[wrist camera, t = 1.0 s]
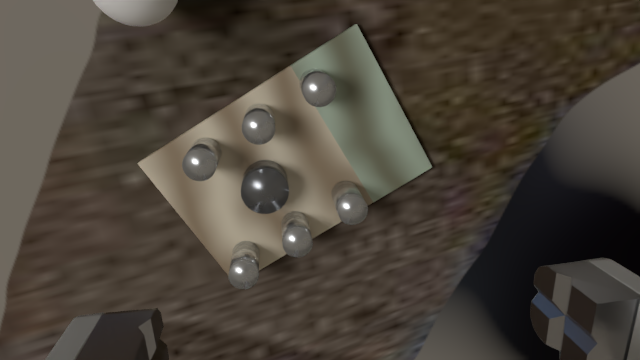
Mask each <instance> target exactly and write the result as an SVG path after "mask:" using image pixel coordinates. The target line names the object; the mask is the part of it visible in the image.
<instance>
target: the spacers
mask: <svg viewBox="0 0 640 360" xmlns="http://www.w3.org/2000/svg"><path fill="white" fill-rule="evenodd" d="M299 87H300V90H301V92H302V94H303V96H304V98H305V100H306V101H307V102H308V103H309V104H310V105H312V106H315V107H324V106H327V105H328V104H330V103H331V102H332V101H333V99H334V98H335V95H336V85H335V82H334V80H333V79H332V78H331V77H330V76H329V75H327V74H326V73H325V72H323V71H322V70H320V69H309V70H307V71H305V72H304V73H303V74H302V76H301V78H300V81H299ZM242 133H243V135H244V137H245V138H246V140H247V141H249V142H250V143H252V144H256V145H262V144H265V143H267V142H269V141H270V140H271V139H272V138H273V136H274V134H275V116H274V113H273V111H272V109H271V108H270V107H269V106H267V105H265V104H261V103H257V104H254V105H252V106H250V107H249V108H248V109H247V111H246V113H245V116H244V119H243V123H242ZM221 154H222V151H221V147H220V145H219V144H218V142H216V141H215V140H214V139H212V138H208V137H204V138H200V139H198V140H196V141H195V142H194V144H193V145H192V146H191V148H190V149H189V151H188V152H187V154H186V155H185V157H184V158H183V161H182V168H183V171H184V173H185V174H186V175H187V176H188V177H189V178H190V179H192V180H195V181H205V180H208V179H209V178H211V177H212V176H213V175H214V173H215V170H216V168H217V165H218V163H219V160H220V158H221ZM331 196H332V200H333V202H334V205H335V208H336V210H337V213H338V215H339V218H340V219H341V221H343V222H344V223H346V224H349V225H355V224H358V223H360V222H362V221H363V220H364V219H365V218H366V216H367V213H368V206H367V204H366V202H365V200H364V198H363V197H362V195H361V193H360V191H359V190H358V188H357V186H356V185H355V184H354V183H353V182H351V181H340V182H338V183H337V184H336V185H335V186H334V187H333V189H332V192H331ZM281 228H282V244H283V249H284V251H285V252H286V253H287V254H288V255H290V256H292V257H302V256H304V255H306V254H308V253H309V252H310V250H311V248H312V245H313V242H312V236H311V232H310V227H309V222H308V218H307V217H306V215H305V214H303V213H302V212H299V211H292V212H289V213H287V214H286V215H285V216H284V217H283V219H282V222H281ZM259 256H260V251H259V248H258V246H257V245H256V244H255V243H253V242H251V241H242V242H239V243H237V244H236V245H235V246H234V248H233V251H232V257H231V263H230V269H229V275H228V278H229V281H230V283H231V284H232V285H233V286H234V287H236V288H239V289H247V288H250V287H252V286H254V285H255V284H256V282H257V281H258V277H259Z"/></svg>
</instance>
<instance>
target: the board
mask: <svg viewBox="0 0 640 360" xmlns="http://www.w3.org/2000/svg"><path fill="white" fill-rule="evenodd" d="M309 69H320V70H322V71H323V72H325V73H326V74H327V75H329V76H330V77H331V78H332V79H333V80H334V82H335V85H336V95H335V98H334V99H333V101H332V102H331V103H330V104H328V105H327V106H324V107H315V106H312V105H310V104H309V103H308V102H307V101H306V100H305V98H304V96H303V94H302V92H301V90H300V87H299V81H300V78H301V76H302V74H303V73H304V72H305V71H307V70H309ZM257 103H261V104H265V105H267V106H269V107H270V108H271V109H272V111H273V113H274V116H275V134H274V136H273V138H272V139H271V140H270V141H269V142H267V143H265V144H262V145H256V144H252V143H250V142H249V141H247V140H246V138H245V137H244V135H243V133H242V123H243V119H244V116H245V113H246V111H247V109H248V108H249V107H250V106H252V105H254V104H257ZM204 137H208V138H212V139H214V140H215V141H216V142H218V144H219V145H220V147H221V151H222V154H221V158H220V160H219V163H218V165H217V168H216V170H215V173H214V175H213V176H212V177H211V178H209V179H208V180H205V181H195V180H192V179H190V178H189V177H188V176H187V175H186V174H185V173H184V171H183V168H182V161H183V158H184V157H185V155H186V154H187V152H188V151H189V149H190V148H191V146H192V145H193V144H194V142H195V141H196V140H198V139H200V138H204ZM260 160H271V161H274V162H276V163H278V164H279V165H280V166H281V167H282V168H283V169H284V170H285V172H286V174H287V179H288V187H289V196H288V199H287V201H286V203H285V205H284V206H283V207H282V208H281V209H279V210H278V211H276V212H273V213H270V214H260V213H256V212H254V211H252V210H250V209H249V208H248V207H247V206H246V205H245V204H244V202H243V200H242V197H241V185H242V180H243V175H244V173H245V171H246V169H247V168H248V167H249V166H250V165H251V164H252V163H254V162H256V161H260ZM137 164H138V165H139V166H140V167H141V169H142V170H143V171H144V172H145V173H146V175H147V176H148V177H149V178H150V180H151V181H152V182H153V183H154V185H155V186H156V187H157V188H158V189H159V191H160V192H161V193H162V194H163V196H164V197H165V198H166V199H167V200H168V202H169V203H170V204H171V205H172V207H173V208H174V209H175V210H176V212H177V213H178V214H179V215H180V216H181V218H182V219H183V220H184V221H185V223H186V224H187V225H188V226H189V228H190V229H191V230H192V231H193V232H194V234H195V235H196V236H197V237H198V239H199V240H200V241H201V242H202V243H203V245H204V246H205V247H206V248H207V250H208V251H209V252H210V253H211V255H212V256H213V257H214V258H215V259H216V261H217V262H218V263H219V264H220V266H221V267H222V268H223V269H224V271H225V272H226V273H227V274H228V275H229V269H230V263H231V257H232V251H233V248H234V246H235V245H236V244H237V243H239V242H242V241H251V242H253V243H255V244H256V245H257V246H258V248H259V251H260V256H259V270H261V269H262V268H264V267H266V266H267V265H269V264H271V263H273V262H274V261H276V260H278V259H279V258H281V257H283V256H284V255H286V254H287V253H286V252H285V251H284V249H283V244H282V228H281V222H282V219H283V217H284V216H285V215H286V214H287V213H289V212H292V211H299V212H302V213H303V214H305V215H306V217H307V218H308V222H309V227H310V232H311V236H312V239H313V238H314V237H316V236H318V235H320V234H321V233H323V232H325V231H326V230H328V229H330V228H331V227H333V226H335V225H336V224H338V223H340V222H341V219H340V218H339V215H338V213H337V210H336V208H335V205H334V202H333V200H332V196H331V192H332V189H333V187H334V186H335V185H336V184H337V183H338V182H340V181H351V182H353V183H354V184H355V185H356V186H357V188H358V190H359V191H360V193H361V195H362V197H363V198H364V200H365V202H366V204H367V206H368V205H370V204H372V203H373V202H375V201H377V200H378V199H380V198H382V197H383V196H385V195H387V194H388V193H390V192H392V191H393V190H395V189H397V188H398V187H400V186H402V185H403V184H405V183H407V182H409V181H410V180H412V179H414V178H415V177H417V176H419V175H420V174H422V173H424V172H425V171H427V170H429V169H430V168H432V165H431V164H430V162H429V160H428V158H427V156H426V154H425V152H424V150H423V148H422V146H421V145H420V143H419V141H418V139H417V137H416V135H415V133H414V131H413V129H412V128H411V126H410V124H409V122H408V120H407V118H406V116H405V114H404V112H403V111H402V109H401V107H400V105H399V103H398V101H397V99H396V97H395V95H394V93H393V92H392V90H391V88H390V86H389V84H388V82H387V80H386V78H385V76H384V75H383V73H382V71H381V69H380V67H379V65H378V63H377V61H376V59H375V57H374V56H373V54H372V52H371V50H370V48H369V46H368V44H367V42H366V40H365V39H364V37H363V35H362V33H361V31H360V29H359V27H358V25H357V24H355V25H353V26H352V27H350V28H348V29H347V30H345V31H344V32H342V33H341V34H339V35H337V36H336V37H334V38H333V39H331V40H329V41H328V42H326V43H325V44H323V45H322V46H320V47H318V48H317V49H315V50H314V51H312V52H311V53H309V54H307V55H306V56H304V57H303V58H301V59H300V60H298V61H296V62H295V63H293V64H292V65H290V66H289V67H287V68H285V69H284V70H282V71H281V72H279V73H278V74H276V75H274V76H273V77H271V78H270V79H268V80H267V81H265V82H263V83H262V84H260V85H259V86H257V87H256V88H254V89H252V90H251V91H249V92H248V93H246V94H245V95H243V96H241V97H240V98H238V99H237V100H235V101H234V102H232V103H230V104H229V105H227V106H226V107H224V108H223V109H221V110H219V111H218V112H216V113H215V114H213V115H212V116H210V117H208V118H207V119H205V120H204V121H202V122H201V123H199V124H197V125H196V126H194V127H193V128H191V129H190V130H188V131H186V132H185V133H183V134H182V135H180V136H179V137H177V138H175V139H174V140H172V141H171V142H169V143H168V144H166V145H164V146H163V147H161V148H160V149H158V150H157V151H155V152H153V153H152V154H150V155H149V156H147V157H146V158H144V159H142V160H141V161H139V162H138V163H137Z"/></svg>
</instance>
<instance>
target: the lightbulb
mask: <svg viewBox="0 0 640 360" xmlns="http://www.w3.org/2000/svg"><path fill="white" fill-rule="evenodd" d="M93 1H94V3H95V4H96V5H97V6H98V7H99V8H100V9H101V10H102V11H103V12H104V13H105V14H106V15H108V16H109V17H111V18H112V19H114V20H116V21H118V22H120V23H123V24H126V25H131V26H148V25H153V24H155V23H158V22H160V21H162V20H163V19H165V18H166V17H167V16H168V15H169V14H170V13H171V12H172V11H173V9H174V7H175V6H176V4H177V2H178V0H93Z"/></svg>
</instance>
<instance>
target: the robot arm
mask: <svg viewBox="0 0 640 360" xmlns="http://www.w3.org/2000/svg"><path fill="white" fill-rule="evenodd" d="M534 285H535V287H536V288H537V290H538V291H539V292H538V294H537V295H536V297H534V299H533V300H532V302H531V312H530V316H531V319H532V324H533V327H534V329H535V331H536V333H537V334H538V336H539V337H540V338H541V339H542V340H543V342H544V343H545V344H547V345H548V346H551V347H553V348H555V349H557V350H559V351H560V360H640V277H639V276H637V275H636V274H634V273H632V272H631V271H629V270H628V269H626V268H624V267H623V266H621V265H619V264H618V263H616V262H614V261H613V260H611V259H606V258H598V259H591V260H585V261H580V262H572V263H564V264H557V265H550V266H542V267H539V268H538V270H537V271H536V273H535V278H534ZM163 327H164V326H163V321H162V317H161V312H160V311H159V310H158V308H153V309H141V310H130V311H119V312H108V313H97V314H89V315H80V316H78V317H75V318H74V319H73V320H72V322H71V323H70V325H69V326H68V327H67V329H66V330H65V332H64V333H63V335H62V336H61V338H60V339H59V341H58V342H57V343H56V345H55V346H54V348H53V349H52V351H51V352H50V354H49V355H48V357H47V358H46V359H45V360H169V354H168V348H167V345H166V344H165V343H164V342H163V341H162V340H161V339H160V336H161V333H162V330H163Z"/></svg>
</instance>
